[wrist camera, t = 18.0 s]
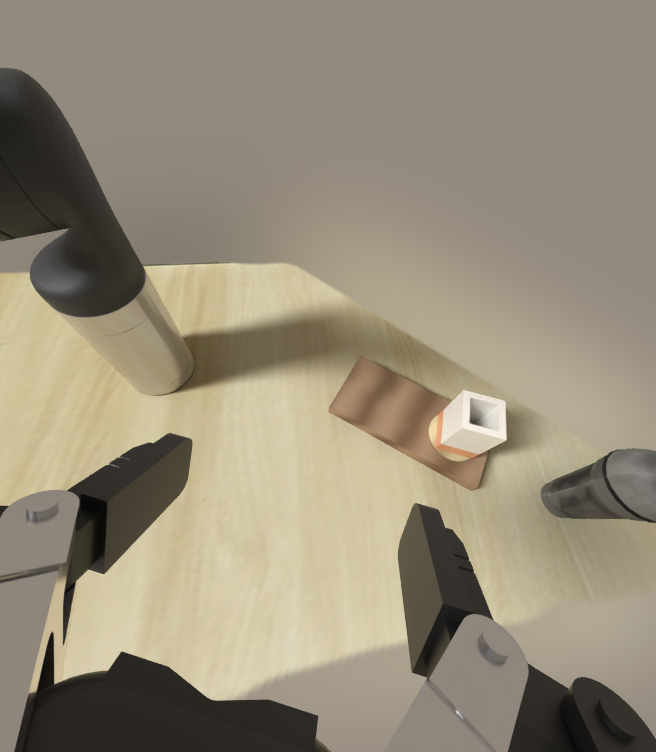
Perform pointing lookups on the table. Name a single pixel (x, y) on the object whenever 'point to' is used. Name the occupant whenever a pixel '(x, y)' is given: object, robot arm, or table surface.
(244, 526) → the table surface
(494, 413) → the sleeve
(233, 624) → the table surface
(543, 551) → the table surface
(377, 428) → the pin board
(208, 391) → the table surface
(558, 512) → the beverage cup
